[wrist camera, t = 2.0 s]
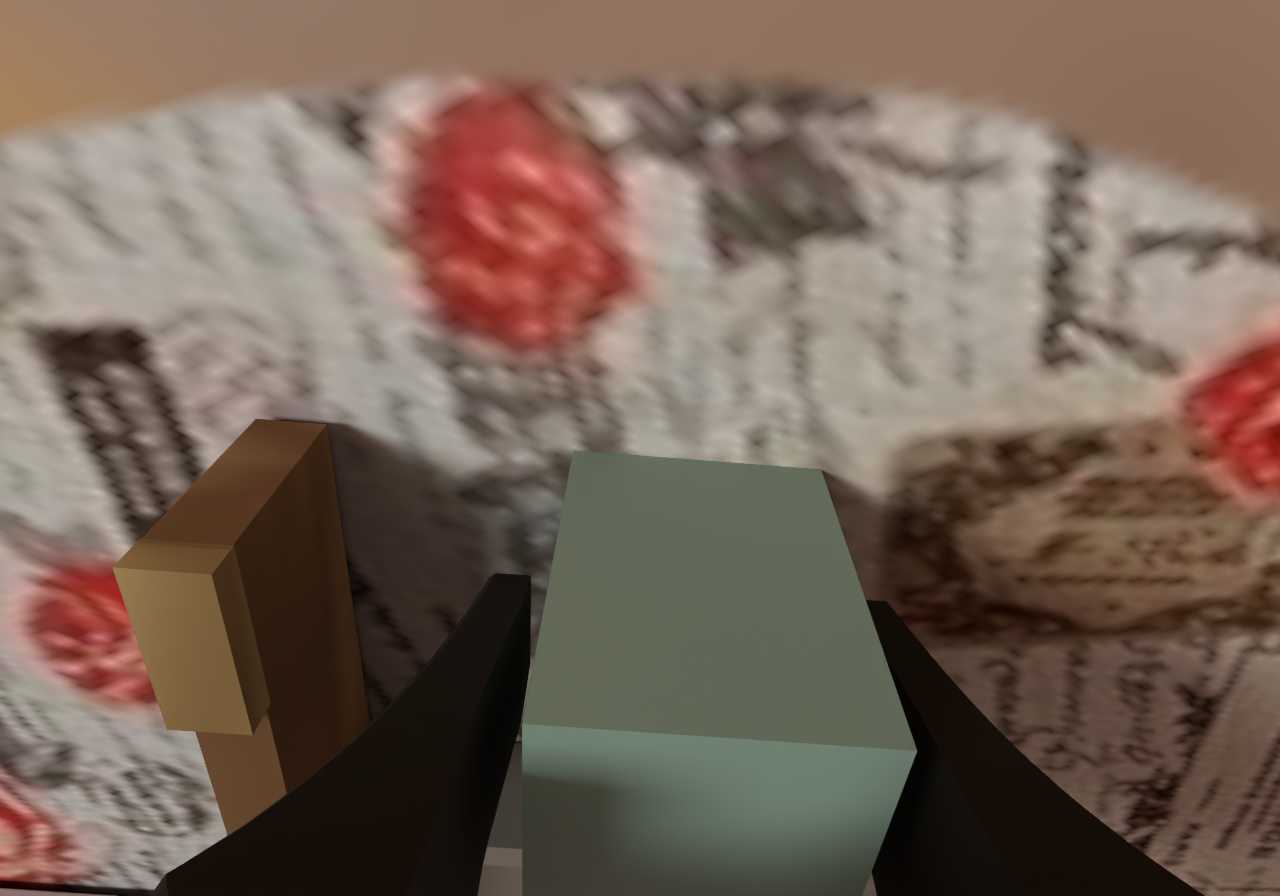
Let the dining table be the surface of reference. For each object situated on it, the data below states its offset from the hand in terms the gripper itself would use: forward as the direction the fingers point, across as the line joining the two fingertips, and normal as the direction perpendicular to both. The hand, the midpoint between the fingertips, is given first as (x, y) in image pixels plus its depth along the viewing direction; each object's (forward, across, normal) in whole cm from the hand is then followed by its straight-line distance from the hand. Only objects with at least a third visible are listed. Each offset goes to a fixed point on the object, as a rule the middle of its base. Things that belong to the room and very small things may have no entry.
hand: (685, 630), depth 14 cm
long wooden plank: (+1, +7, +5) cm, 9 cm away
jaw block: (+2, 0, 0) cm, 2 cm away
